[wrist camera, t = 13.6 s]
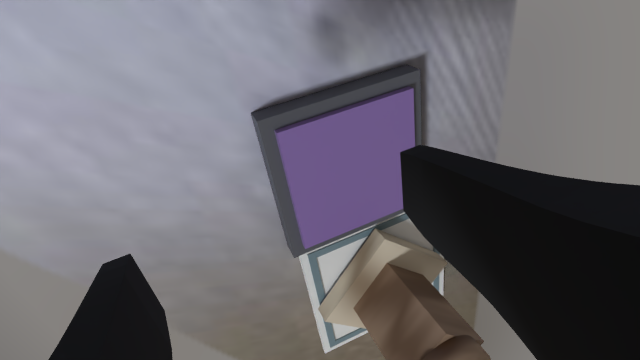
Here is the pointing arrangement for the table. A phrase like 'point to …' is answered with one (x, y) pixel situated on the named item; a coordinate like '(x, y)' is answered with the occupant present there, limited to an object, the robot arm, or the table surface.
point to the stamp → (400, 303)
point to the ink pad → (340, 155)
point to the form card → (334, 258)
